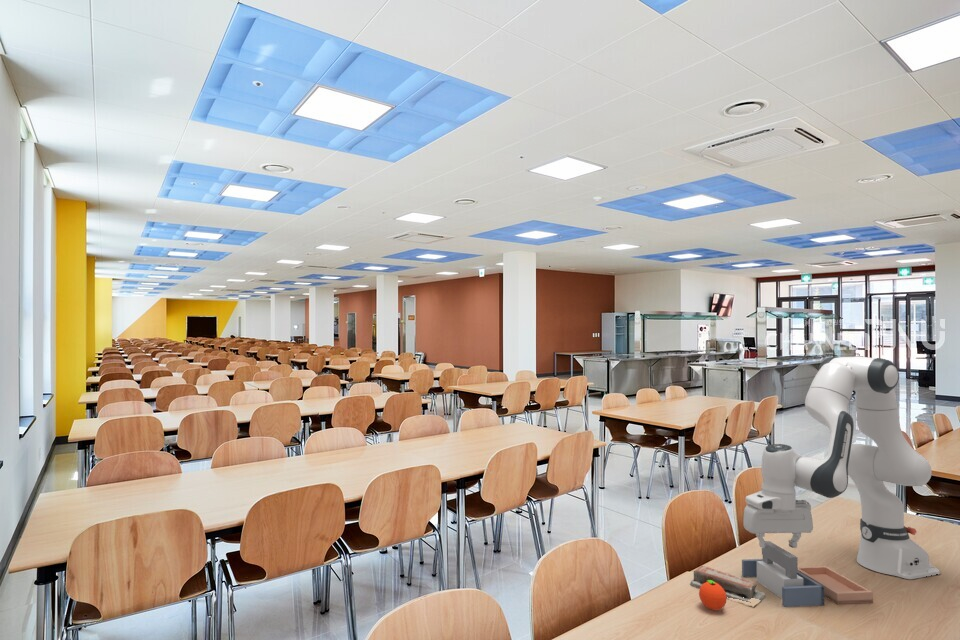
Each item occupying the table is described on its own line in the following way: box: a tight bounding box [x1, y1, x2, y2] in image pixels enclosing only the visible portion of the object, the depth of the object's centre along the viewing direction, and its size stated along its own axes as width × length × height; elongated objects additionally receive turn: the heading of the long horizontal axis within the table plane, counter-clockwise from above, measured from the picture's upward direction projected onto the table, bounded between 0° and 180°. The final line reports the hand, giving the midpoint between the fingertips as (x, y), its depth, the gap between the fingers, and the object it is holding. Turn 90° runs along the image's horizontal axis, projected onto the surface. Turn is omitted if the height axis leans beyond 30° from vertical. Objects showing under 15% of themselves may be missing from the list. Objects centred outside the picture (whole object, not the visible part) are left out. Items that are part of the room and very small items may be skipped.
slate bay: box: [741, 558, 825, 608], centre depth 152 cm, size 12×19×5 cm, turn 6°
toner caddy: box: [756, 540, 803, 600], centre depth 152 cm, size 6×12×12 cm, turn 7°
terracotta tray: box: [798, 565, 874, 606], centre depth 153 cm, size 11×17×3 cm, turn 6°
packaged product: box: [690, 565, 766, 603], centre depth 151 cm, size 18×5×10 cm
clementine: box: [698, 580, 728, 611], centre depth 141 cm, size 8×7×7 cm
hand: (778, 547), depth 152 cm, fingers open, 8 cm apart
